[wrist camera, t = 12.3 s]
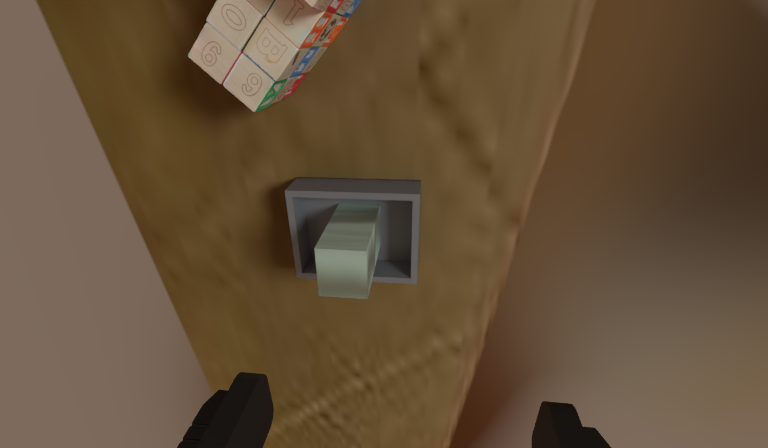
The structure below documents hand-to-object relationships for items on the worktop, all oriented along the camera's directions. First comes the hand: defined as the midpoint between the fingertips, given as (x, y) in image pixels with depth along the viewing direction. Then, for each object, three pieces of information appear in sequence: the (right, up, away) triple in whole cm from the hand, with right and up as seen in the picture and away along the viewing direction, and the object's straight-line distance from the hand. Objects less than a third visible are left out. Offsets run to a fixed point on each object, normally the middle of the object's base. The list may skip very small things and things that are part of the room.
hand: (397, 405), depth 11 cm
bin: (-3, +6, +31) cm, 32 cm away
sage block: (-3, +5, +31) cm, 31 cm away
